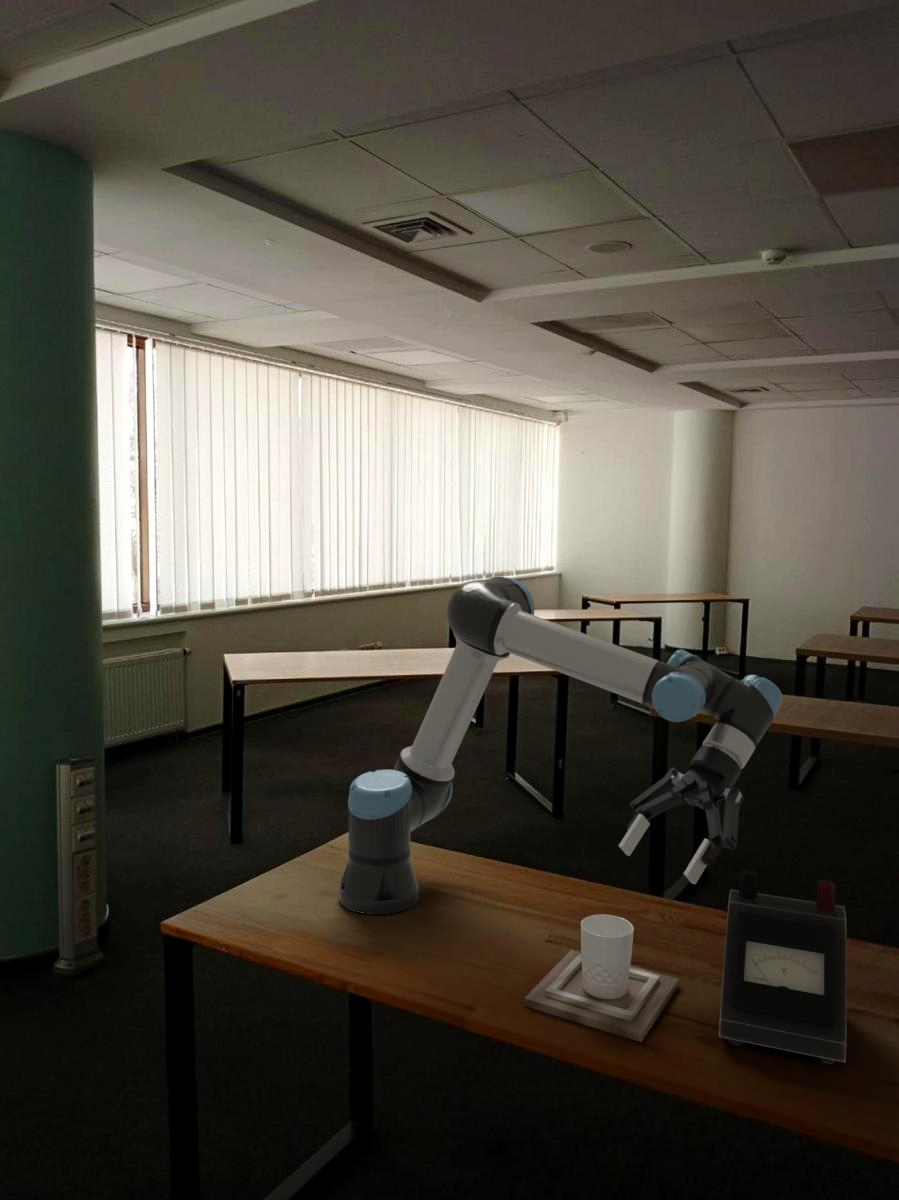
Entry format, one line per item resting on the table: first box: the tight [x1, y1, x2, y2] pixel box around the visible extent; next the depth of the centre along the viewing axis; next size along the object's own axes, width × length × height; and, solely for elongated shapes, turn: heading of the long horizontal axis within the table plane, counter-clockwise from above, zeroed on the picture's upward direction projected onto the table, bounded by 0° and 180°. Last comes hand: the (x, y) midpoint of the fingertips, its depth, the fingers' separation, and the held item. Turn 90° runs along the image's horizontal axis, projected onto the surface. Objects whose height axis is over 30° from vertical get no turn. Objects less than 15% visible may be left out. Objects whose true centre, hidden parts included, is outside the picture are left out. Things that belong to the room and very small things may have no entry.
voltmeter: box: [718, 868, 847, 1063], centre depth 130 cm, size 16×16×20 cm
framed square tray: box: [523, 949, 680, 1043], centre depth 139 cm, size 18×18×2 cm
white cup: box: [580, 913, 635, 1000], centre depth 138 cm, size 8×8×10 cm
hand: (655, 864), depth 143 cm, fingers open, 13 cm apart
